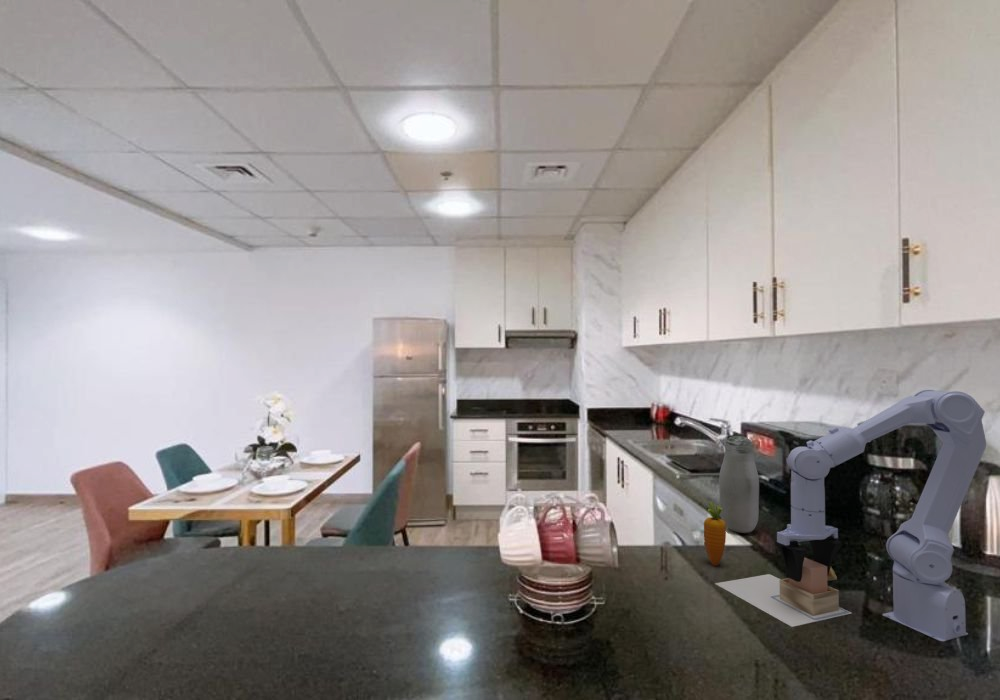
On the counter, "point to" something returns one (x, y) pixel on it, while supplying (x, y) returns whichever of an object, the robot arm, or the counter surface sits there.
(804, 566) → the terracotta block
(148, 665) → the counter surface
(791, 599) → the maple base block
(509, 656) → the counter surface
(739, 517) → the glass bottle
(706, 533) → the carrot
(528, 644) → the counter surface
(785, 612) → the board
